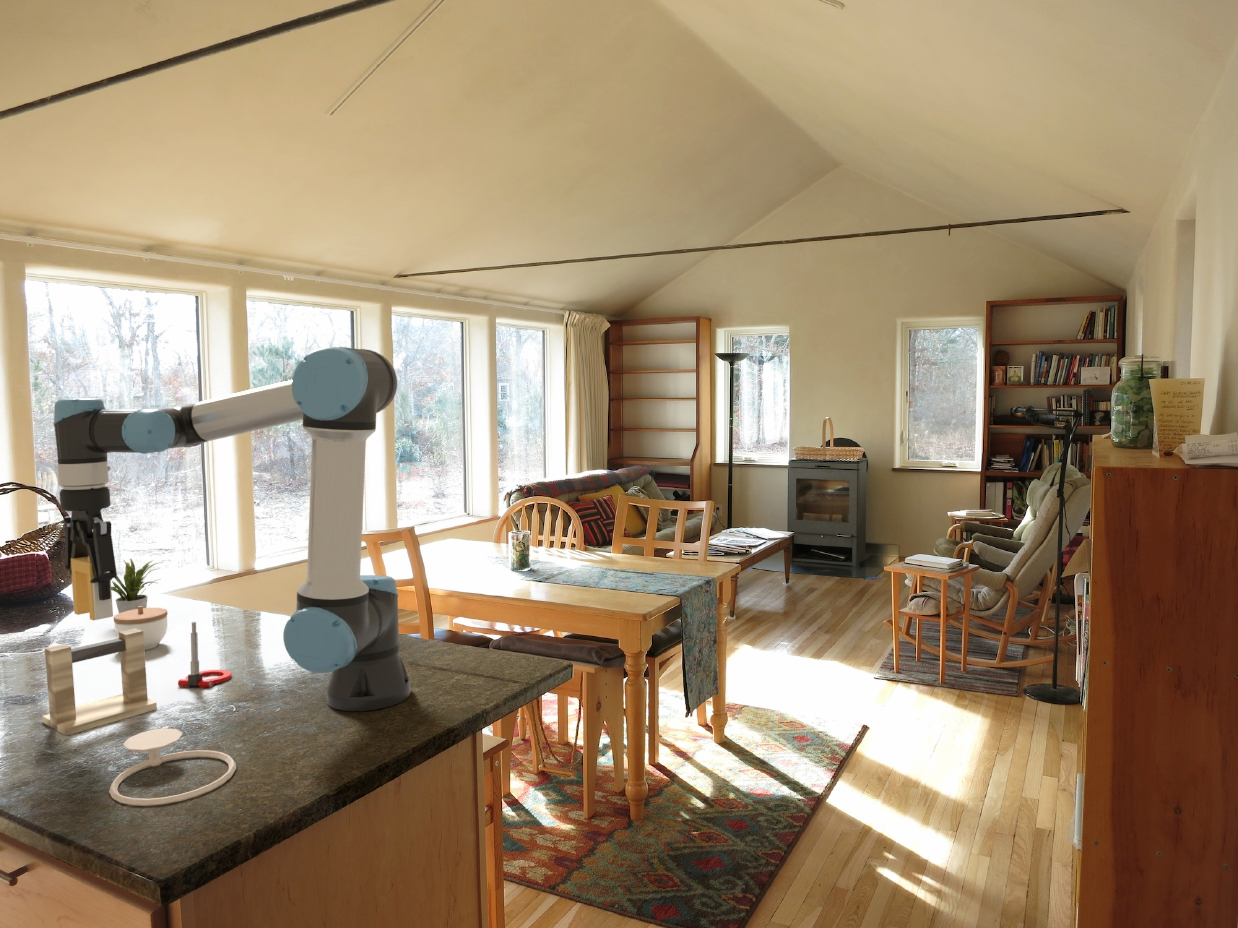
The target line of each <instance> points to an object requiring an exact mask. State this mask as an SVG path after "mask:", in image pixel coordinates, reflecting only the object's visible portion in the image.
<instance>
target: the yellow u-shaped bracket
mask: <svg viewBox="0 0 1238 928" xmlns="http://www.w3.org/2000/svg"><path fill="white" fill-rule="evenodd" d="M71 569H72V575H71V585H72V584H73V589H72V599H73V598H74V603H73V611H74V612H73V613H74V615H77V616H79V615H84V614H89V620H92V621H98V620H99V619H97V620H96V619H95V616H94V602H93V587H92V583H91V582H90V581H91V580H92V579H94V575H93V571H92V563H90V559H89V556H88V557H81V558H71ZM107 618H109V617H107ZM107 618H106V619H107ZM102 619H104V618H102ZM102 619H101V620H102Z"/></svg>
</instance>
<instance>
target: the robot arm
mask: <svg viewBox="0 0 1238 928" xmlns="http://www.w3.org/2000/svg"><path fill="white" fill-rule="evenodd" d="M397 391H398V377H397V373H396V370H395V368H394V366H393V364H392V363H391V362H390V361H389V360H388V359H387V358H386V357H385V356H384V355H383V354H382V353H381V354H380V353H379V352H377V351H374V350H372V349H367V348H366V349H365V348H354V347H353V348H352V347H346V346H340V345H338V346H337V345H336V346H328V347H321V348H318V349H315V350H313V351H310V352H309V353H308V354H306V355H305V356H304V357H303V358H302V359H301V360H300V361H299V362H298V363H297V365H296V367H295V369H294V371H293V374H292V377H291V379H290V380H288V381H287V380H285V381H282V382H278V383H273V384H270V385H265V386H261V387H256V388H253V389H248V390H244V391H240V392H236V393H231V394H227V395H223V396H218V397H215V398H210V399H206V400H201V401H197V402H193V403H189V404H183V405H180V406H174V407H160V408H159V407H157V408H156V407H155V408H132V409H131V408H130V409H128V408H127V409H125V408H124V409H106V407H105V404H104V403H105V402H104V401H103V400H102V399H101V398H99V397H98V398H97V397H96V398H89V397H87V398H61V399H58V400H57V401H55V403H54V405H53V406H54V411H53V413H54V414H53V423H52V424H53V426H54V436H55V442H56V443H55V444H56V452H57V453H56V454H57V455H56V456H57V463H56V467H57V468H56V469H57V482H58V486H59V487H62V489H60V490H59V502H60V510H62V511H64V512H71V515H70V516H69V515H68V516H64V517H63V524H64V569H65V570H66V571H69V574H70V576H72V569H71V558H81V557H88V556H89V559H90V563H92V571H93V575H94V579H92V580H91V581H90V582H91V583H92V587H93V602H94V616H95V619H96V620H95V621H98V620H102V618H103V619H107V617H108V618H112V617H114V610H113V609H114V608H113V595H112V590H111V587H112V581H113V579H115V578H116V577H117V576H118V572H117V566H116V565H117V564H116V559H115V552H114V551H115V550H114V546H113V539H112V537H113V536H112V522H111V521H110V520H107V521H104V518H103V516H102V511H101V510H103V509H107V508H109V507H110V506H111V491H110V487H109V486H106V484H108V483H109V482H110V481H109V471H111V466H109V465H108V453H109V454H110V453H122V454H123V453H124V454H126V453H129V454H130V453H131V454H133V453H135V454H136V453H137V454H144V455H145V454H153V453H162V452H164V451H165V452H166V451H167V450H169V449H176V448H177V449H178V448H191V447H196V446H200V445H202V444H205V443H207V442H210V441H215V440H219V439H224V438H225V439H226V438H229V437H234V436H237V435H242V434H247V433H251V432H254V431H255V432H256V431H259V430H260V431H261V430H264V429H269V428H273V427H277V426H283V425H286V424H293V423H296V422H300V421H302V429H303V430H305V431H306V432H307V434H308V435H309V436H310V438H311V454H310V455H311V459H310V485H309V486H310V488H309V491H310V492H309V510H308V511H309V513H308V514H309V515H308V543H307V569H306V570H307V571H306V572H307V573H306V579H305V580H303V582H302V583H301V584H300V585H299V586H298V587H297V588H296V589H297V590H296V608H295V612H294V613H293V614H292V615H291V616H290V617H289V618H288V620H287V622H286V624H285V625H284V629H283V643H284V648H285V649H286V652H287V654H288V655H289V657H290V658H291V659H292V660H293V661H294V662H295V663H296V664H297V665H298V666H299V667H300V668H302V669H304V670H305V671H308V672H311V673H314V674H327V673H330V677H329V681H328V685H327V687H326V694H325V695H326V704H327V705H328V706H329V707H331V708H332V709H335V710H338V711H339V710H340V711H346V712H367V711H375V710H380V709H384V708H385V709H386V708H388V707H392V706H395V705H397V704H399V703H402V702H403V701H406V700H407V699H408V697H410V695H411V681H410V677H409V675H408V673H407V670H406V666H405V664H404V663H403V659H402V657H401V653H400V635H399V633H400V631H399V605H398V604H399V600H398V597H399V593H398V587H397V582H396V579H394V577H392V576H389V575H379V574H373V575H372V574H371V575H370V574H368V575H365V574H364V575H363V574H362V575H361V562H362V561H361V560H362V543H363V542H362V540H363V538H362V535H363V520H364V519H363V516H364V515H363V514H364V495H365V494H364V489H365V470H366V469H365V466H366V445H367V442H366V441H367V439H368V438H369V437H370V436H372V435H373V434H374V433H375V432H376V429H377V414H378V413H380V412H382V411H383V410H386V408H387V407H388V406H389V405H390V404H391V403H392V401H393V400H394V399H395V396H396V393H397ZM71 585H72V586H71V587H72V590H73V584H72V583H71ZM72 600H73V603H72V604H74V598H73V597H72ZM97 619H98V620H97Z"/></svg>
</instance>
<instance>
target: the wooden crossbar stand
mask: <svg viewBox="0 0 1238 928" xmlns="http://www.w3.org/2000/svg"><path fill="white" fill-rule="evenodd" d="M117 653H119V656H120V658H119V659H120V673H121V686H122V689H121V690H122V693H120V694H119V695H113V696H109V697H107V698H103V699H99V700H96V701H92V702H89V703H85V704H81V705H80V704H79V705H78V706H76V696H75V683H74V682H75V681H74V670H73V664H75V663H79V662H82V661H88V660H91V659H95V658H100V657H104V656H108V655H112V654H117ZM145 654H146V653H145V650H144V637H143V631H142V630H139V629H136V628H135V629H131V630H126V631H122V632H119V638H113V639H110V640H105V641H101V642H96V643H93V644H88V645H84V646H78V647H74V648H72V646H71V645H70V646H69V645H67V644H65V643H63V644H59V645H54V646H50V647H45V648H44V658H45V670H46V671H45V672H46V682H47V695H48V696H47V697H48V709H49V713H48V714H44V715H42V716H41V717H42V724H45V725H47V726H48V727H50V728H52V729H53V728H54V729H53V730H55V731H57V732H58V733H61V734H62V735H64V736H70V735H72V734H76V733H79V732H83V731H87V730H89V729H94V728H97V727H100V726H104V725H107V724H110V723H114V722H116V721H117V722H118V721H121V720H124V719H127V718H131V717H134V716H137V715H141V714H145V713H147V712H148V713H149V712H151V711H156V710H157V708H158V704H157V701H154V700H151V699H149V698H148V687H147V686H148V684H147V673H146V672H147V670H146V669H147V668H146V655H145Z"/></svg>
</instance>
